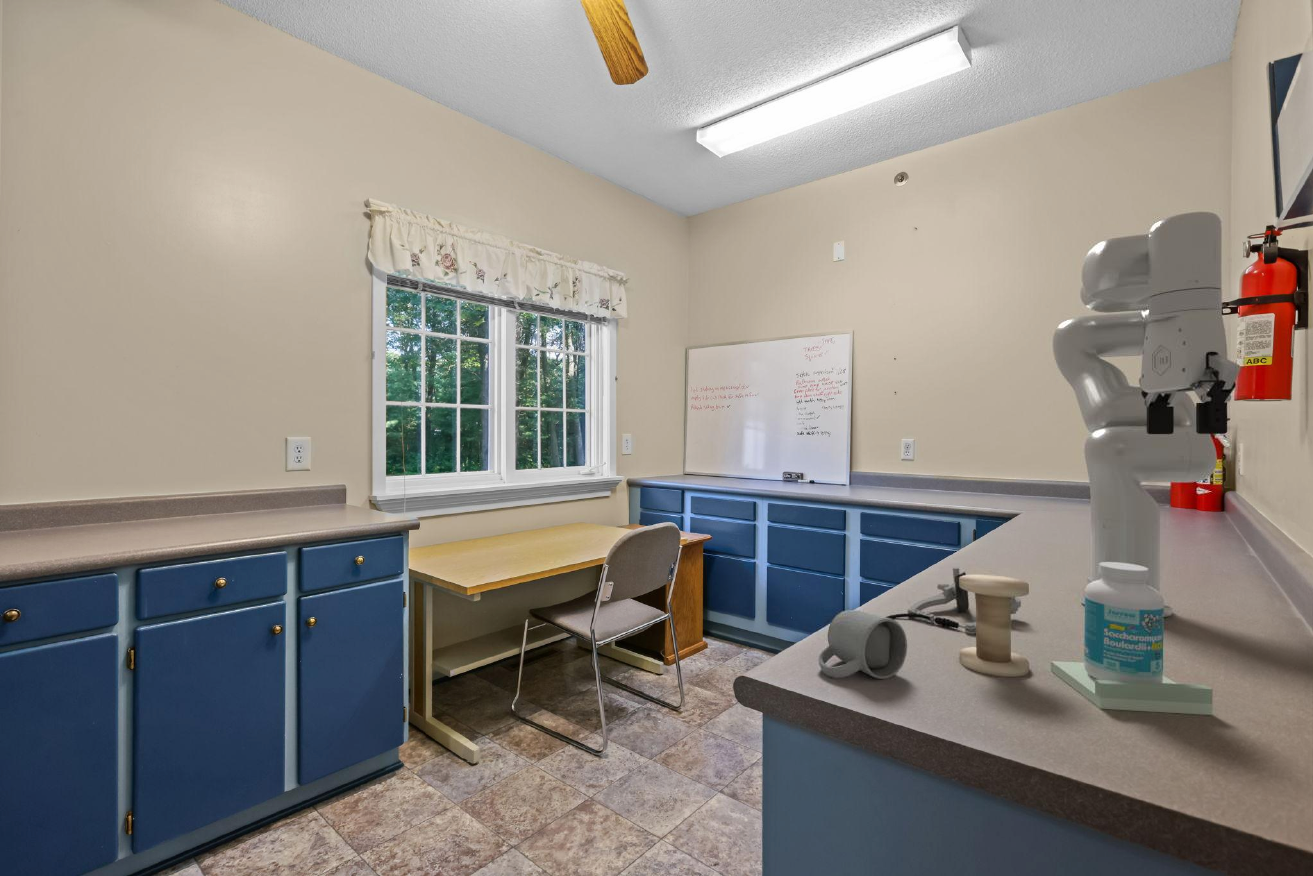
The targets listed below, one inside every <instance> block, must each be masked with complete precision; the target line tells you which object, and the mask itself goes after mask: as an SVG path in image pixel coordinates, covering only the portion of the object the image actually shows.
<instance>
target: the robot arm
mask: <svg viewBox="0 0 1313 876" xmlns="http://www.w3.org/2000/svg"><path fill="white" fill-rule="evenodd" d="M1222 229H1223V228H1222V220H1221V218H1220V217H1219V215H1218V214H1216V213H1214V212H1210V211H1194V212H1193V211H1192V212H1186V213H1181V214H1176V215H1172V216H1169V217H1166V218H1163V219H1162V220H1159V221H1157V222H1156V223H1155V224H1153V225H1152V227H1151V228H1150V229H1149V232H1148V233H1147V234H1144V233H1143V234H1137V235H1127V236H1120V237H1114V238H1109V239H1105V240H1103V241H1101V242H1099V243H1097V244H1096V245H1095V246H1093V247H1092V249H1090V250H1089V251H1088V253H1086V256H1085V258H1084V261H1083V263H1082V264H1083V265H1082V268H1081V282H1082V286H1081V288H1080V293H1079V294H1080V295H1079V296H1080V299H1081V303H1083V305H1085V306H1086V308H1088V309H1089V310H1091V311H1094V312H1098V313H1107V314H1092V315H1085V316H1084V315H1083V316H1079V317H1074V318H1071V319H1068V320H1066V321H1063V322H1061V323H1060V324H1059V325H1058V326H1057V327H1056V329H1055V330H1054V333H1053V337H1052V351H1053V355H1054V360H1055V363H1056V365H1057V368H1058V370H1059V372H1060V373H1061V375H1062V377H1063V378H1064V380H1066V382H1068V385H1070V386H1071V388H1072V389H1073V391H1074V393H1075V397H1076V401H1077V405H1078V406H1079V407H1078V408H1079V410H1080V413H1081V416H1082V420H1083V422H1084V425H1085V427H1086V428H1087V430H1088V431H1089V432H1090V434H1089V435H1088V436H1087V438H1086V440H1085V443H1084V449H1083V450H1084V451H1083V452H1084V459H1085V464H1086V469H1087V470H1086V471H1087V474H1088V482H1089V490H1090V491H1089V492H1090V575H1091V576H1089V577H1088V578H1087V580H1086V581H1087V584H1089V583H1091V582H1093V581H1096V580H1100V579H1101V577H1102V576H1100V573H1099V563H1101V562H1119V563H1128V564H1134V565H1139V566H1143V567H1146V568H1148V569H1149V579H1148V581H1147V582H1146V585H1147V586H1150V587H1152V588H1154V589H1155V590H1157V591H1158V592H1159V593H1160V594H1161V512H1160V507H1159V505H1158V502H1157V501H1156V500H1155V499H1154V498H1153V496H1152V495H1151V494H1149V492H1147V491H1146V489H1145V488H1144V486H1142V485H1141V484H1142V483H1151V482H1152V483H1194V482H1195V483H1197V482H1201V481H1204V480H1206V479H1208V478H1210V476H1211V475H1212V474H1213V473H1214V471H1215V469H1216V466H1217V461H1218V456H1217V455H1218V454H1217V451H1216V450H1217V449H1216V446H1215V443H1214V441H1213V437H1212V435H1225V434H1227V433H1228V403H1230V402H1231V400H1232V396H1231V394H1232V392H1233V391H1234V389H1235V388H1236V386H1237V385H1236V384H1237V383H1236V381H1237V379H1238V376H1239V374H1240V372H1241V366H1240V365H1239V364H1238V363H1236V362H1234V361H1233V360H1230V359H1228V346H1227V344H1228V343H1227V337H1226V329H1225V323H1224V318H1223V312H1222V309H1223V303H1222V302H1223V301H1222V300H1223V299H1222V298H1223V297H1222V294H1223V293H1222V292H1223V290H1222V241H1223V237H1222ZM1134 311H1135V312H1134ZM1138 311H1139V312H1138ZM1109 313H1110V314H1109ZM1137 356H1138V357H1139V356H1141V374H1140V377H1139V379H1138V384H1139V386H1132V385H1130V384H1129V382H1128V381H1129V380H1128V379H1127V376H1126V375H1125V373H1124V372H1123V371H1122V370H1121V369H1120V368H1119V367H1117V366H1116V365H1115V364H1112V363H1111V362H1109V361H1108V360H1105V359H1104V358H1115V357H1116V358H1117V357H1137ZM1187 392H1188V393H1189V392H1195V395H1196V396H1197V397H1198V400H1200V402H1196V404H1195V401H1193V399H1192V397H1191V395H1190V394H1188V393H1187ZM1080 603H1081V604H1083V605H1084V606H1085V593H1082V594H1081V595H1080ZM1172 615H1173V607H1172V606H1171V605H1170V604H1168V603H1166V602H1164V618H1166V617H1170V616H1172Z"/></svg>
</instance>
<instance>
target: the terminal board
mask: <svg viewBox="0 0 1313 876" xmlns="http://www.w3.org/2000/svg"><path fill="white" fill-rule="evenodd" d="M1050 671H1051V672H1052V673H1053V674H1054V675H1056V676H1057V677H1058V678H1060V679H1061V680H1062V681H1064V682H1065V683H1067V685H1069V686H1070V687H1072V689H1074V690H1075V691H1077V692H1078V693H1080V694H1081V695H1082V696H1083V697H1084V698H1086V699H1087V700H1089V701H1090V702H1091V703H1092V704H1094V706H1096V707H1097V708H1099V709H1101V710H1117V711H1118V710H1119V711H1120V710H1121V711H1132V712H1133V711H1134V712H1151V713H1152V712H1154V713H1168V714H1169V713H1172V714H1183V715H1184V714H1188V715H1204V716H1207V715H1208V716H1213V715H1214V714H1213V705H1214V703H1213V699H1214V698H1213V696H1214V695H1213V693H1214V691H1213V688H1211V687H1209V686H1208V685H1203V684H1186V683H1184V684H1182V683H1177V682H1175V681H1174V680H1171V679H1170V678H1168V677H1167V676H1165V675H1163V682H1162V683H1150V682H1130V681H1111V680H1098V679H1096V678H1094V677H1092V676H1091V675H1090V674H1088V673H1087V671H1086V670H1085V667H1084V662H1076V661H1056V660H1054V661H1053V660H1050Z"/></svg>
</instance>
